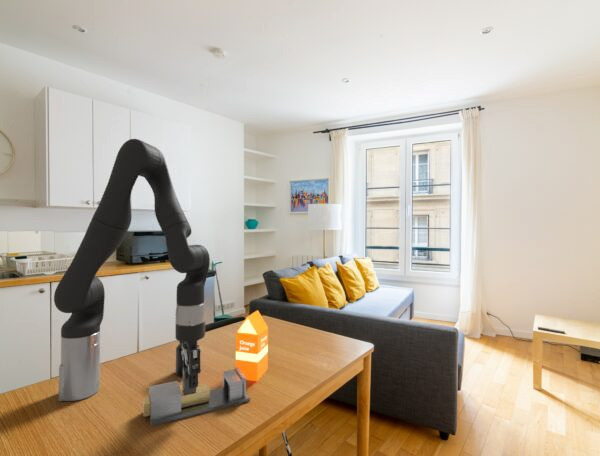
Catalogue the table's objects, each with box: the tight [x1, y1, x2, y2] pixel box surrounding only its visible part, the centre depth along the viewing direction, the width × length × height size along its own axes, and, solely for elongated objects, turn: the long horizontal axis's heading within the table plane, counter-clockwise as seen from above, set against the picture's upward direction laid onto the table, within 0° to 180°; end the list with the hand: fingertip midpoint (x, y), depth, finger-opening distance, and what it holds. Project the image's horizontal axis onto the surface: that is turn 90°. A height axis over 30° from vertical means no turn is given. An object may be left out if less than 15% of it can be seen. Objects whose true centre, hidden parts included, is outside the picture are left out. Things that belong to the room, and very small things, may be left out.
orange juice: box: [235, 310, 269, 382], centre depth 105 cm, size 8×9×20 cm
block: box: [142, 366, 211, 418], centre depth 84 cm, size 16×4×9 cm, turn 118°
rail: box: [148, 366, 251, 427], centre depth 87 cm, size 25×9×6 cm, turn 118°
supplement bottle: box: [174, 341, 196, 378], centre depth 105 cm, size 7×7×12 cm
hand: (190, 380), depth 86 cm, fingers open, 8 cm apart
